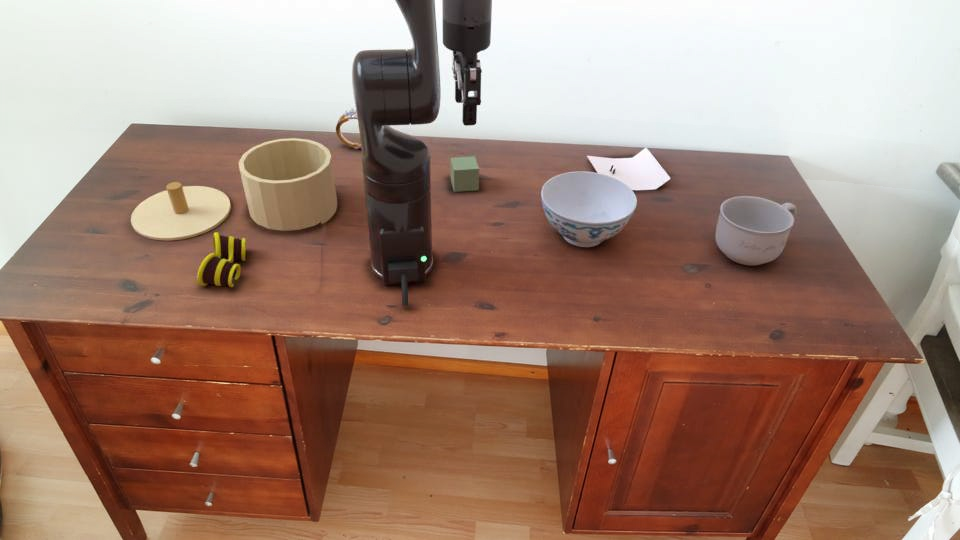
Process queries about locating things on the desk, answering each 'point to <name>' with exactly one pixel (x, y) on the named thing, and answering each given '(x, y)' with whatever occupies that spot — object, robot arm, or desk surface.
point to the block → (464, 174)
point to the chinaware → (587, 206)
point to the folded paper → (633, 170)
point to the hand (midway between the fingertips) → (465, 112)
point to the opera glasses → (222, 261)
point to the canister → (289, 184)
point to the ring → (343, 119)
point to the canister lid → (180, 212)
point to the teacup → (753, 229)
